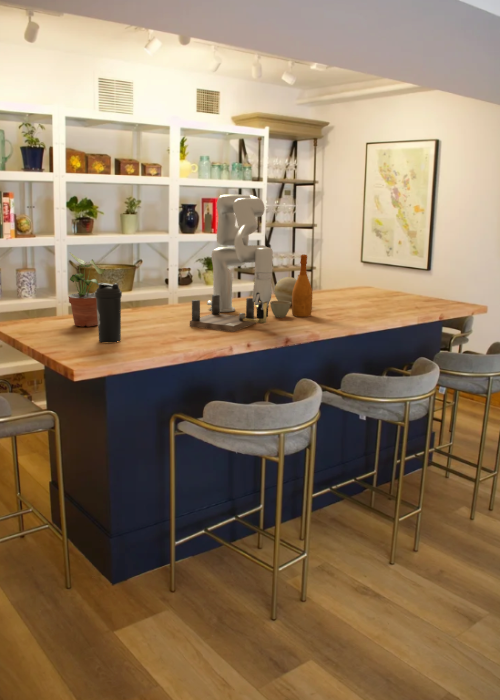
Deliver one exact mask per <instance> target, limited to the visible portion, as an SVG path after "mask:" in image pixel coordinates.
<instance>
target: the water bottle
mask: <svg viewBox="0 0 500 700" xmlns="http://www.w3.org/2000/svg"><path fill="white" fill-rule="evenodd" d="M119 285H120V284H119V283H117V282H115V283H113V284H111V283H106V282H99V283H98V285H97V286H98V287H97V288H96V290H95V291H94V293H95V297H96V302H97V319H98V324H97V329H98V330H97V331H98V341H100V343H102V342H116V343H118V342H117V341H120V340H121V339H122V335H121V333H122V332H121V331H122V327H121V325H122V320H121V319H122V318H121V317H122V314H121V313H122V312H121V311H122V309H121V308H122V305H121V303H122V299H121V298H122V293H123V292H122V291H121V289H120V287H119ZM120 342H121V341H120Z"/></svg>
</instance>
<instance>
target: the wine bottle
mask: <svg viewBox="0 0 500 700" xmlns="http://www.w3.org/2000/svg"><path fill="white" fill-rule="evenodd" d="M299 264H300V270H299V274H298V275H297V279H296V280H297V281H296V283H295V286H294V288H293V293H292V305H291V314H292V316H294V317H298V318H309V317H310V316H311V315H312V312H313V311H312V310H313V288H312V285H311V282H310V280H309V277H308V272H307V264H308V254H305V253H304V254H300V261H299Z"/></svg>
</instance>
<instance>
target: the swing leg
mask: <svg viewBox="0 0 500 700" xmlns="http://www.w3.org/2000/svg"><path fill="white" fill-rule="evenodd" d="M260 305H261V304H260ZM263 310H264V318H263V319H259V318H256V319H251V318H245V317H246V312H245V313H244V312H240V313H238V316H239V320H240V321H250V322H256V323H258V324H266V323H267V317H266V313H267V302H264V304H263Z"/></svg>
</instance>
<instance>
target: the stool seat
mask: <svg viewBox="0 0 500 700" xmlns="http://www.w3.org/2000/svg"><path fill="white" fill-rule="evenodd" d="M245 300H246V301H245V302H246V305H245V306H246V307H245V309H246V310H245V318H251V319H257V317H255V302H253V297H247V298H246V299H245ZM211 301H212V311H211V313H210V314H207V315H204V316H201V300H199V299H192V300H191V319H190V320H189V327H194V328H200V329H207V330H208V329H210V330H216V331H225V332H231V333H232V332H237V331H239V330H241V329H244V328H247V327H249V326H252V325H254V324H255V325H256V323H257V322H250V321H240V320H239V315H234V314H224V313H221V312H220V295H213V294H211Z"/></svg>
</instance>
